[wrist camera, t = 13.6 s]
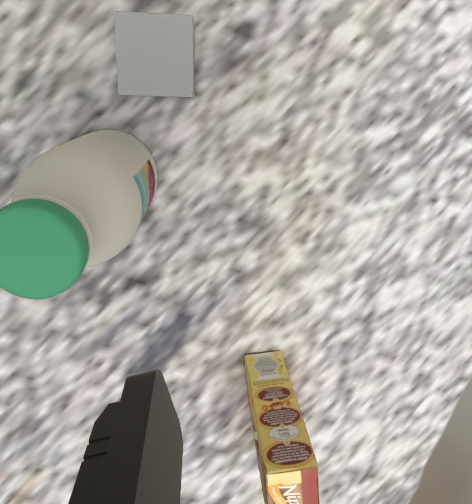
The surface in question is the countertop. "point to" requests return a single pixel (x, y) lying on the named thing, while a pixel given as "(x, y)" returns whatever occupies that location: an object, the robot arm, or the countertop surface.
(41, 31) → the countertop surface
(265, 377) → the candy box
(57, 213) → the milk bottle
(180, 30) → the slate block
